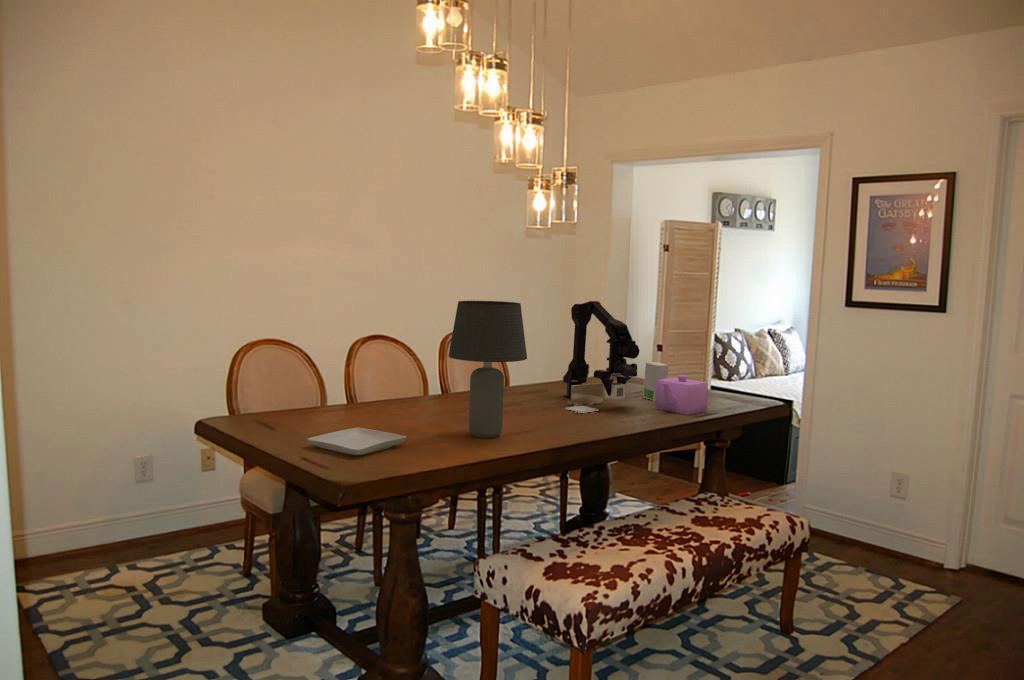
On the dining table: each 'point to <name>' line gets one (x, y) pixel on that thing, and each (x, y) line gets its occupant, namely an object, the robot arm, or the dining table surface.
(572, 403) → the oak screen
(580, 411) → the cream square tile
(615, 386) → the cream grey-paneled cube
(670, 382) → the violet knobbed box
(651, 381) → the skincare box
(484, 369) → the lamp
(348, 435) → the salad plate
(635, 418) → the dining table surface
